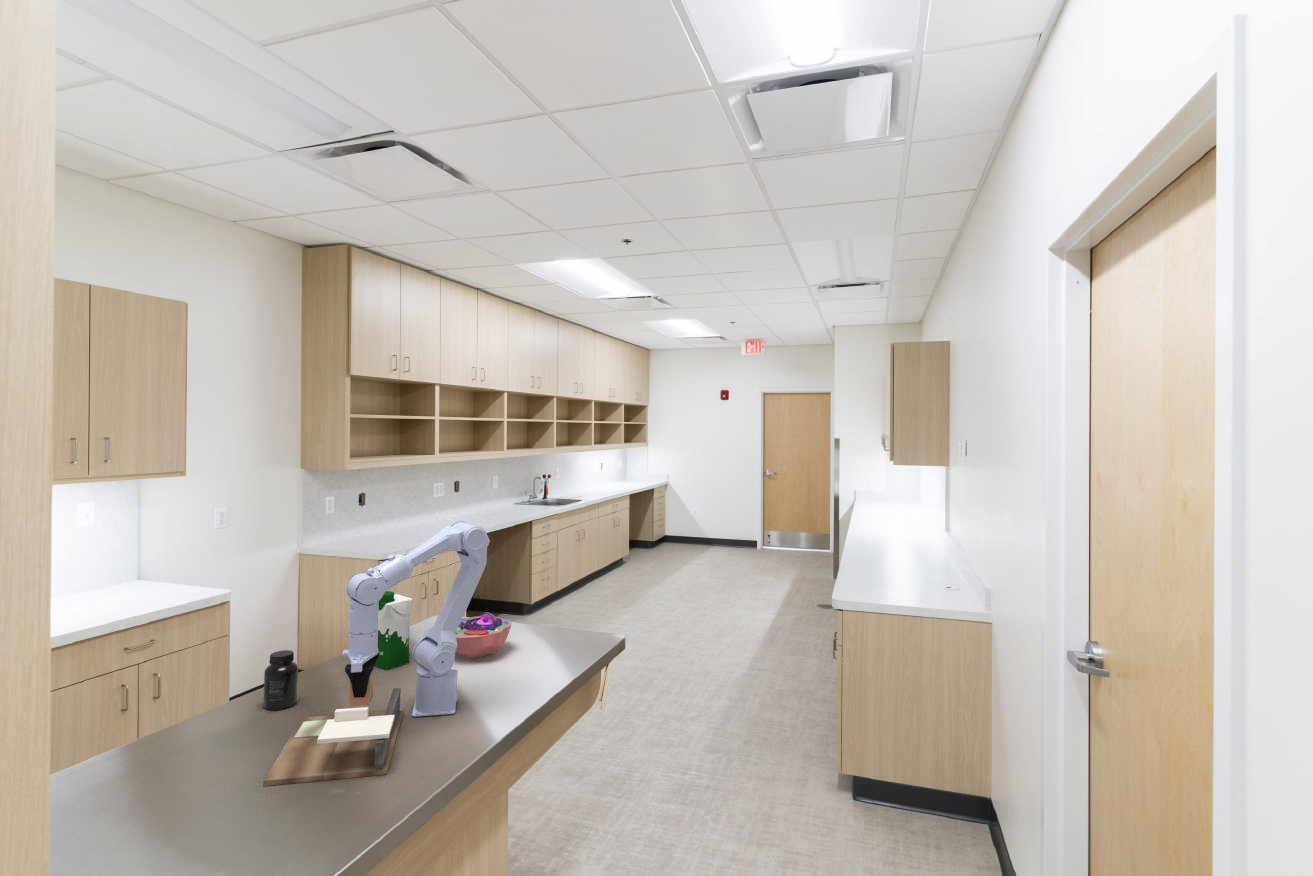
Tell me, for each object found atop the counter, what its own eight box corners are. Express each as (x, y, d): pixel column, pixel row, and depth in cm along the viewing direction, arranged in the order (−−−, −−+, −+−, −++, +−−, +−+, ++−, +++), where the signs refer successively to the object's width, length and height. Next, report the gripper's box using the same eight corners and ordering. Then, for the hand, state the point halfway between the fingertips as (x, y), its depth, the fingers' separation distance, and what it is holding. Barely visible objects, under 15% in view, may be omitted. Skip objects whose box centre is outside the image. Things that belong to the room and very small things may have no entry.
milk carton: (366, 664, 173) (368, 592, 173) (395, 655, 181) (397, 585, 180) (385, 672, 168) (388, 598, 168) (414, 662, 176) (417, 591, 175)
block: (372, 696, 140) (373, 670, 140) (369, 704, 136) (370, 677, 136) (353, 698, 139) (353, 671, 139) (349, 706, 135) (350, 678, 135)
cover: (394, 718, 130) (394, 705, 130) (388, 738, 122) (389, 723, 122) (327, 723, 127) (327, 709, 126) (317, 743, 119) (317, 729, 119)
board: (403, 714, 145) (404, 687, 145) (386, 774, 121) (387, 742, 121) (301, 722, 140) (302, 693, 140) (263, 786, 116) (264, 752, 116)
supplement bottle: (304, 701, 150) (305, 651, 150) (278, 713, 143) (280, 661, 143) (282, 696, 152) (283, 646, 152) (256, 707, 146) (257, 656, 145)
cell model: (429, 656, 181) (431, 617, 181) (485, 638, 197) (486, 602, 197) (468, 671, 171) (469, 630, 171) (523, 651, 188) (524, 613, 187)
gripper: (350, 620, 143) (348, 679, 143) (335, 642, 129) (333, 708, 129) (384, 619, 145) (382, 677, 145) (373, 641, 131) (371, 706, 131)
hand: (361, 692), depth 137 cm, fingers closed on block, 4 cm apart
